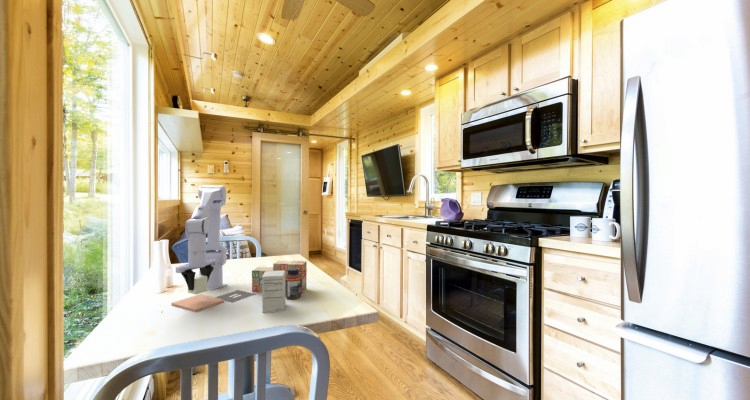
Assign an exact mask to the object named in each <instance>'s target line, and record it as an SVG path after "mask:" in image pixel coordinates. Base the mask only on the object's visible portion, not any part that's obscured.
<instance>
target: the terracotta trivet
mask: <svg viewBox="0 0 750 400" xmlns="http://www.w3.org/2000/svg"><path fill="white" fill-rule="evenodd" d="M224 302H225V301H224V300H223V299H219V298H215V297H214V296H211V295H206V294H202V293H199V294H195V295H193V296H190V297H187V298H183V299H179V300H176V301H173V302H171V306H174V307H176V308H181V309H183V310H186V311H187V310H188V311H190V312H193V313H194V312H195V313H196V312H199V311H200V312H201V311H202V310H205V309H208V308H210V307H214V306H217V305H219V304H220V305H221V304H222V303H223V304H224Z"/></svg>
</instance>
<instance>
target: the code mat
mask: <svg viewBox="0 0 750 400" xmlns="http://www.w3.org/2000/svg"><path fill="white" fill-rule="evenodd" d="M255 295H256V293H255V292H249V291H248V292H247V291H243V290H240V289H237V290H233V291H230V292H227V293H225V294H221V295H217V296H215V297H214V298H219V299H223V300H224V302H229V303H231V304H233V303H235V302H237V301H241V300H244V299H248V298H249V297H252V296H255Z"/></svg>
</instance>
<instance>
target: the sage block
mask: <svg viewBox="0 0 750 400" xmlns="http://www.w3.org/2000/svg"><path fill="white" fill-rule="evenodd" d="M187 292H188V293H189V294H193V295H199V294H202V293H205V292H208V284H207V276H204V275H199V274H198V275H195V278H194V290H192V291H191V290H188V289H187Z"/></svg>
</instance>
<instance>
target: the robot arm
mask: <svg viewBox="0 0 750 400" xmlns="http://www.w3.org/2000/svg"><path fill="white" fill-rule="evenodd" d="M198 198H199V199H200V201H199V202H200V203H199V205H197V206H196V207H195V208H194V210H193V212H192V215H191V217H190V218H189V219H188V220H187V219H186V221H185V224H184V225H185V226H184V231H185V235H186V238H185V239H186V240H187V257H188V258H187V259H188V261H187V263H186V264H182V265H179V266H175V273H176V274H181V276H182V278H183V279H184V281H185V284H186V286H187V291H188V290H191V291H192V290H194V278H195V276H196V273H197V272H195V271H194V270H197V269H198V270H199V272H198V275H204V276H207V284H208V290H209V291H212V290H216V289H220V288H223V287H227V286H228V284H227V283H224V282H223V280H224V279H223V278H224V277H223V266H224V265H225V264H226V262H227V249H226V247H225V246H224V245H222V244H221V243H220V238H221V237H220V235H221V233H220V232H221V210H222V207H223V206H225V205H226V202H227V189H226V187H225V186H224V184H222V185H203V184H202V185H201V184H200V186H199V187H198Z"/></svg>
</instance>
